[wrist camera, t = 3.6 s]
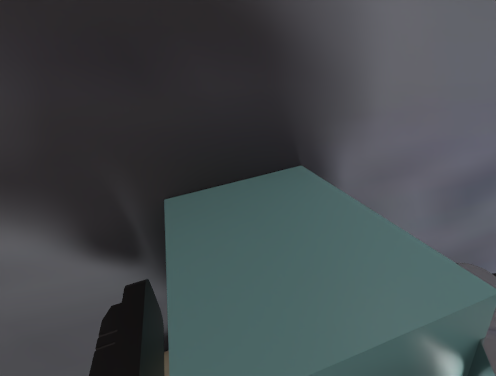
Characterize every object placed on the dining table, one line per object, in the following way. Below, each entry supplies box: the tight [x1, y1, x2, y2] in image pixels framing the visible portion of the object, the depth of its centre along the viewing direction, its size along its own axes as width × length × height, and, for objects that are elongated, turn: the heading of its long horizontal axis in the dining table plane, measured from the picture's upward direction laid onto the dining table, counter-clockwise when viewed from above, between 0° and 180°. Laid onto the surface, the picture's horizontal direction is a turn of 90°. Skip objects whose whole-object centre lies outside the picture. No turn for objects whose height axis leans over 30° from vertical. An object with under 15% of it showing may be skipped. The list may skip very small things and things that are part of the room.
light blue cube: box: [164, 165, 496, 376], centre depth 9 cm, size 6×6×8 cm
